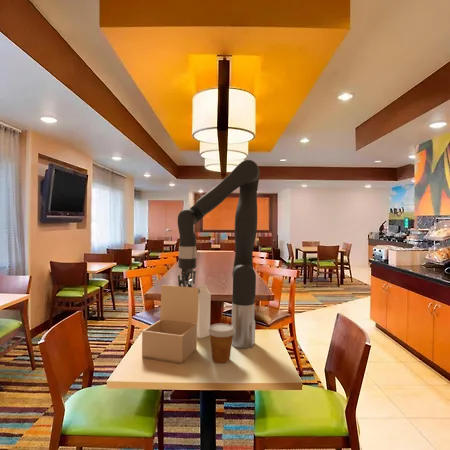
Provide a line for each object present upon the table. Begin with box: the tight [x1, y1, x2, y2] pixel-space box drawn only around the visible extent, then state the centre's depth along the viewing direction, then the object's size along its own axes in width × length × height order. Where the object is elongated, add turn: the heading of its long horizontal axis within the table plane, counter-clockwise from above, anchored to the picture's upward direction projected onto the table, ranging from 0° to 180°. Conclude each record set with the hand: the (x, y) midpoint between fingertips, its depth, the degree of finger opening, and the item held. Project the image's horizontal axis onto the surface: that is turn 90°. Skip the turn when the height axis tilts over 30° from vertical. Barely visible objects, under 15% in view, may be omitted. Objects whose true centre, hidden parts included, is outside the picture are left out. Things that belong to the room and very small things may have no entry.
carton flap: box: [159, 284, 200, 324], centre depth 141 cm, size 16×14×9 cm
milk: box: [192, 284, 212, 340], centre depth 149 cm, size 6×6×22 cm
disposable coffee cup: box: [208, 323, 234, 364], centre depth 125 cm, size 10×10×12 cm
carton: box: [141, 319, 198, 365], centre depth 130 cm, size 16×14×10 cm
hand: (186, 296), depth 144 cm, fingers open, 5 cm apart
